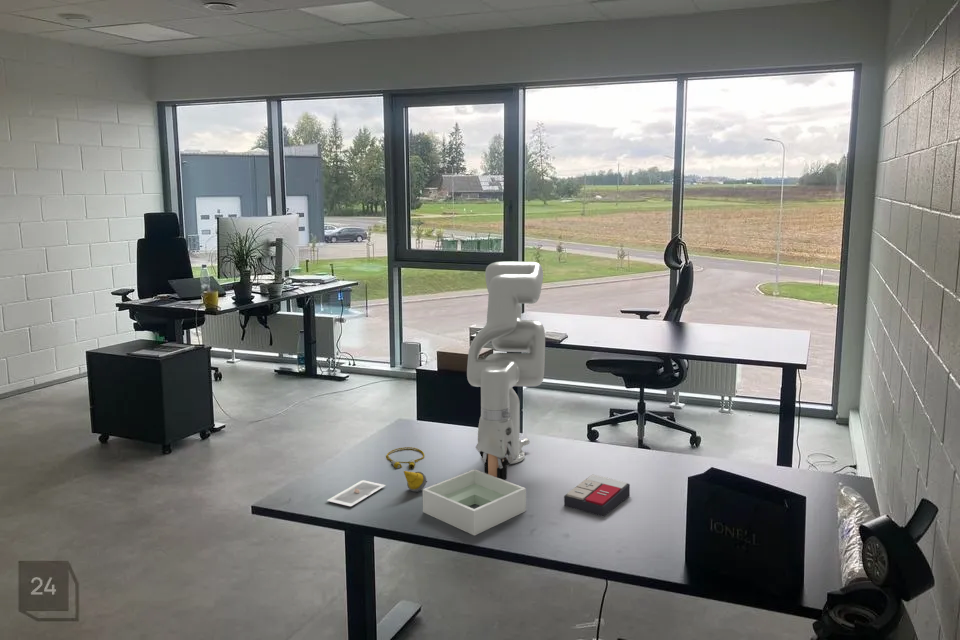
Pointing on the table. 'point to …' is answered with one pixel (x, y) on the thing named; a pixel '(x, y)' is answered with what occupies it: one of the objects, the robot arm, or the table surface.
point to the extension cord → (398, 465)
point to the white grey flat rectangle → (356, 493)
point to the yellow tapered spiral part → (415, 480)
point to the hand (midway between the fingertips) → (495, 477)
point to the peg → (492, 465)
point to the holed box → (474, 501)
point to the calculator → (597, 495)
